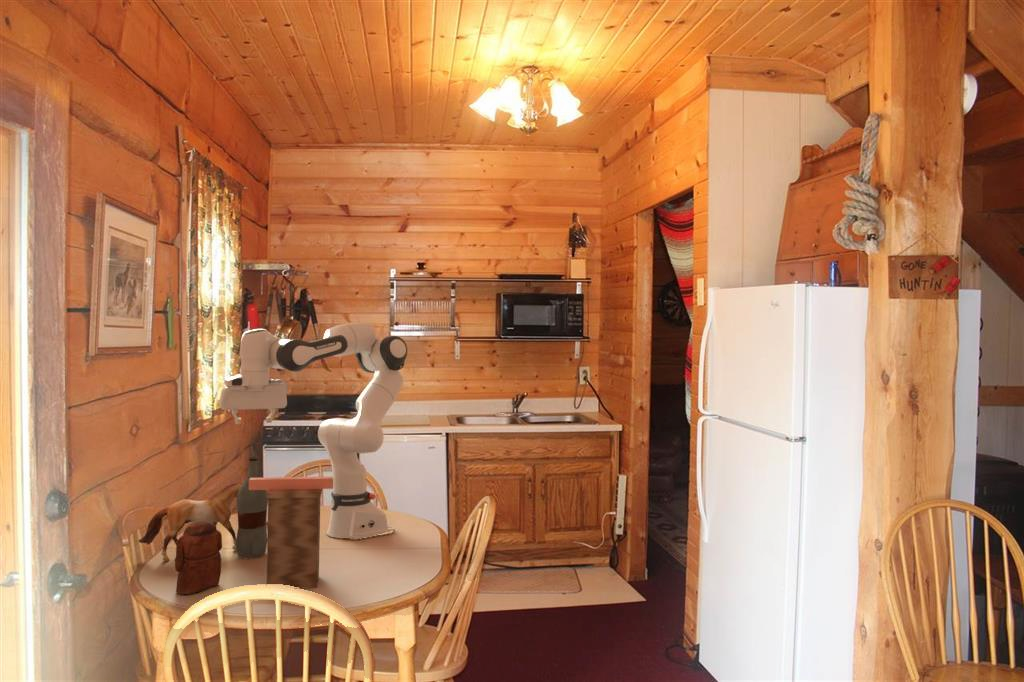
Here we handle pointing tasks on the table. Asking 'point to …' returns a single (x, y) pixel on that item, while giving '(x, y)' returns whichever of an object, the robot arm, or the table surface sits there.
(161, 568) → the table surface
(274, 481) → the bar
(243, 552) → the bottle
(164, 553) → the horse figurine
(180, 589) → the wooden figurine
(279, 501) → the stand
